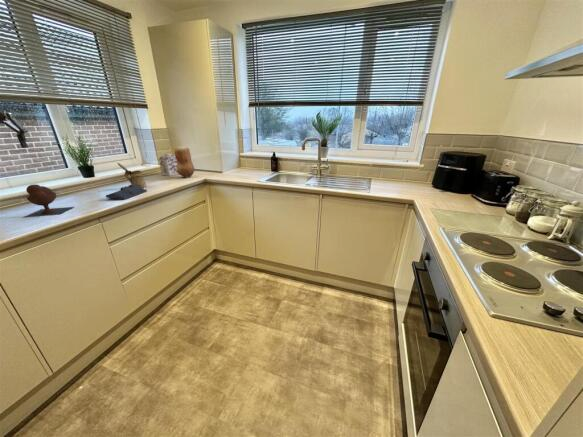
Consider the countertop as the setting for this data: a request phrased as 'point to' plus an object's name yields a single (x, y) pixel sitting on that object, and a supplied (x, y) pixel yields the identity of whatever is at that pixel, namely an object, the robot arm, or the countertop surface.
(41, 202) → the ice cream bowl
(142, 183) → the tan handled pot
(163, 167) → the decorative jar
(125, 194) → the dark slate chunk
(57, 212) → the placemat
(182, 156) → the butternut squash
